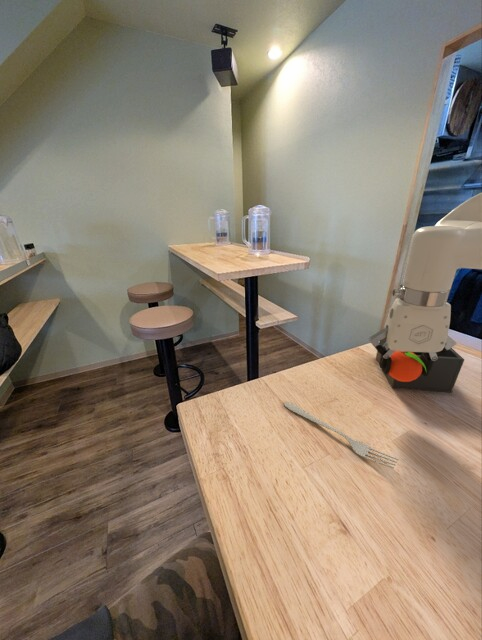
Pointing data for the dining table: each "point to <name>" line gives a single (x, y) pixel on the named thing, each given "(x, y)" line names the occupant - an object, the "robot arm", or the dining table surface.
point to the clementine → (405, 366)
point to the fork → (356, 446)
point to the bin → (432, 373)
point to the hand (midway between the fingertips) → (403, 370)
